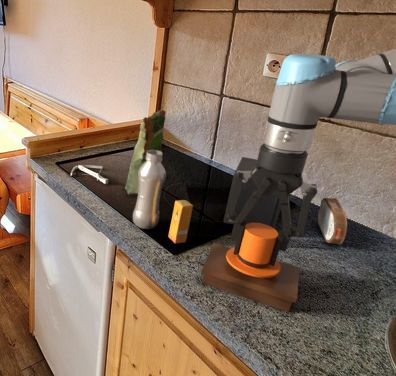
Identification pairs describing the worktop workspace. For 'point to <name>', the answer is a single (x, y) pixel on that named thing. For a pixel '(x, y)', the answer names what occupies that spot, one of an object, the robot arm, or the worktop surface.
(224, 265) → the stand
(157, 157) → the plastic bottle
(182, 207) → the supplement box
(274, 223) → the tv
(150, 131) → the pouch
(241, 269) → the hat
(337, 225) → the tin
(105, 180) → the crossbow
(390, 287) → the worktop surface
